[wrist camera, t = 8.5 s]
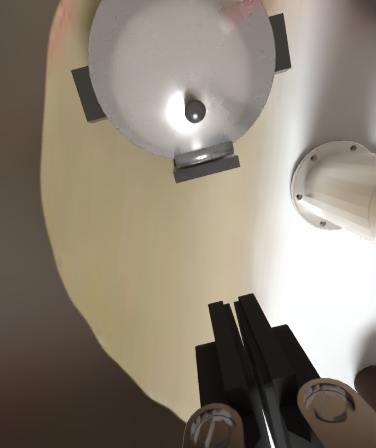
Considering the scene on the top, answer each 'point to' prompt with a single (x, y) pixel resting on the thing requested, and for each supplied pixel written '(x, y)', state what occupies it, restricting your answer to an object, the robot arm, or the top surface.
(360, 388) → the coffee mug
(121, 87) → the cooker lid
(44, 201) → the top surface
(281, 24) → the cooker pot
